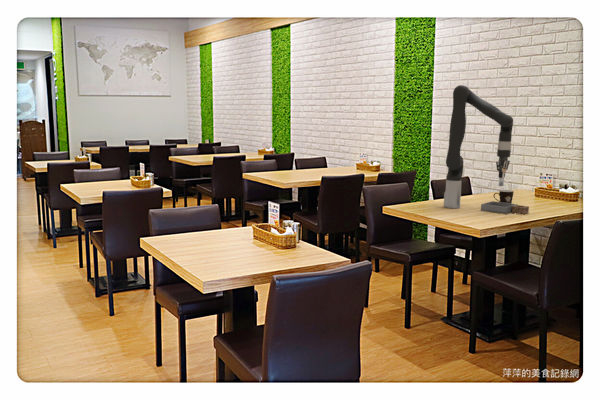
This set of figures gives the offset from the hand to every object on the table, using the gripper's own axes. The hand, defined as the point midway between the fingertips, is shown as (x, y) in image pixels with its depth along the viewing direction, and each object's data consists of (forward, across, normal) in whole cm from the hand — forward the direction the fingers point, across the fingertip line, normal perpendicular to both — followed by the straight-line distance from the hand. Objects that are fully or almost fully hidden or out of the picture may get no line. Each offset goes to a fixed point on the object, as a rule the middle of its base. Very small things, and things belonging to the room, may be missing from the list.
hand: (501, 177), depth 331 cm
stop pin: (+5, 0, 0) cm, 5 cm away
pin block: (+20, -2, +12) cm, 24 cm away
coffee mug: (+21, -17, -5) cm, 27 cm away
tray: (+21, 0, 0) cm, 21 cm away
